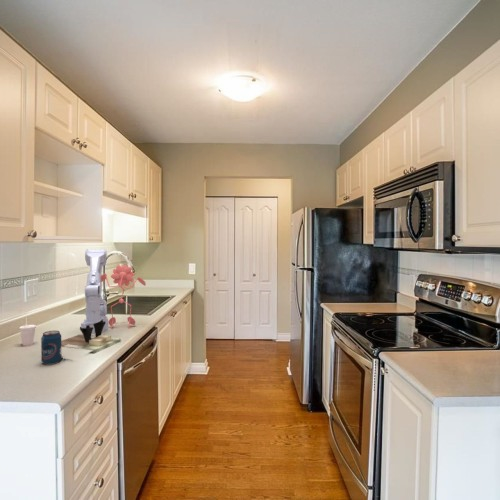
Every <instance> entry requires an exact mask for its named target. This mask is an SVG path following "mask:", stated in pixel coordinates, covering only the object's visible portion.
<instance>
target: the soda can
mask: <svg viewBox="0 0 500 500" xmlns="http://www.w3.org/2000/svg"><path fill="white" fill-rule="evenodd" d="M40 338H41V339H40V342H41V345H40V346H41V350H40V351H41V359H40V360H41V362H42V364H43V365H45V366H46V365H54V364H55V365H56V364H58V363H60V361H61V359H62V357H63V356H62V354H63V353H62V347H61V341H62V334H61V333H60V331H59V330H47V331H45V332H42V335H41V337H40Z"/></svg>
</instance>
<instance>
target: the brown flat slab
mask: <svg viewBox="0 0 500 500" xmlns="http://www.w3.org/2000/svg"><path fill="white" fill-rule="evenodd" d="M91 339H93V337H91ZM121 339H122V338H119V337H111V341H109V342H107V343H105V344H103V345H102V346H100V347H98V346H89V342H85V339H84V336H83V334H81V333H80V334H77V335H74V336H72V337H68V338H66V339H63V340H62V339H61V348H66V346H67V345H72V347H71V346H68V348H69V349H75V347H73V346H81V347H76V349H80V350H87V351H88V350H89V352H88V354H92V355H94V354H97V353H98V352H101V351H104V350H105V349H107V348H108V349H109V348H110V347H112V346H114V345H117V344H119V343H121V342H122V340H121Z"/></svg>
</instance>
